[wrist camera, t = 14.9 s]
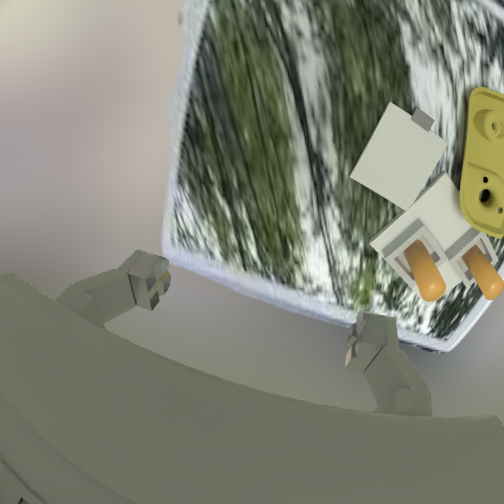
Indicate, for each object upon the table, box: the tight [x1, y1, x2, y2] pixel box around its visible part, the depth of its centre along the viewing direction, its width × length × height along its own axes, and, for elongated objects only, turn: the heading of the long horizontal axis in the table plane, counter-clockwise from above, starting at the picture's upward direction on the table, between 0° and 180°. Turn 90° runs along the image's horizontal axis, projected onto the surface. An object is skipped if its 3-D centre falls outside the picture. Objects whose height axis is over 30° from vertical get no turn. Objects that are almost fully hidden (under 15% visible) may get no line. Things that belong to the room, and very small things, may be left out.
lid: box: [349, 102, 448, 211], centre depth 31 cm, size 14×10×1 cm
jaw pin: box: [404, 239, 446, 302], centre depth 32 cm, size 4×4×10 cm
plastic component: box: [460, 87, 504, 239], centre depth 25 cm, size 20×7×10 cm
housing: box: [369, 171, 504, 307], centre depth 31 cm, size 16×18×11 cm
